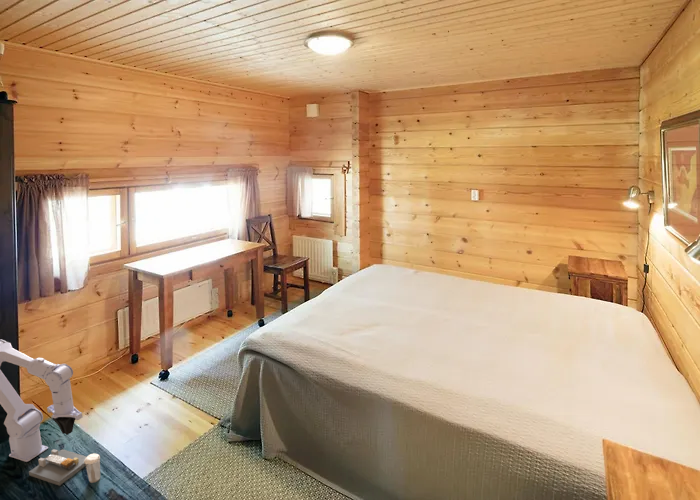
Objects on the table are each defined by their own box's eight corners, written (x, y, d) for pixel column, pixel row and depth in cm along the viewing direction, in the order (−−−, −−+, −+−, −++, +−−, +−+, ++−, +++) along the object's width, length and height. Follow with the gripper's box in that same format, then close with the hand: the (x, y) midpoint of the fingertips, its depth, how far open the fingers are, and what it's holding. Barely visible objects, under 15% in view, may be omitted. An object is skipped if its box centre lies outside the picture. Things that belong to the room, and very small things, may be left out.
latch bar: (43, 460, 145) (43, 457, 145) (51, 455, 148) (51, 452, 148) (66, 468, 142) (65, 465, 142) (73, 462, 145) (73, 459, 144)
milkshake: (97, 485, 138) (93, 460, 136) (83, 483, 139) (80, 457, 137) (107, 476, 142) (104, 450, 140) (94, 473, 143) (91, 448, 141)
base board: (29, 475, 142) (27, 465, 141) (62, 452, 153) (61, 443, 152) (59, 485, 138) (57, 475, 137) (91, 461, 149) (90, 451, 148)
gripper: (36, 401, 145) (42, 435, 148) (67, 409, 141) (72, 444, 144) (56, 390, 152) (60, 423, 155) (85, 398, 148) (90, 431, 150)
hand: (67, 432), depth 150 cm, fingers closed
